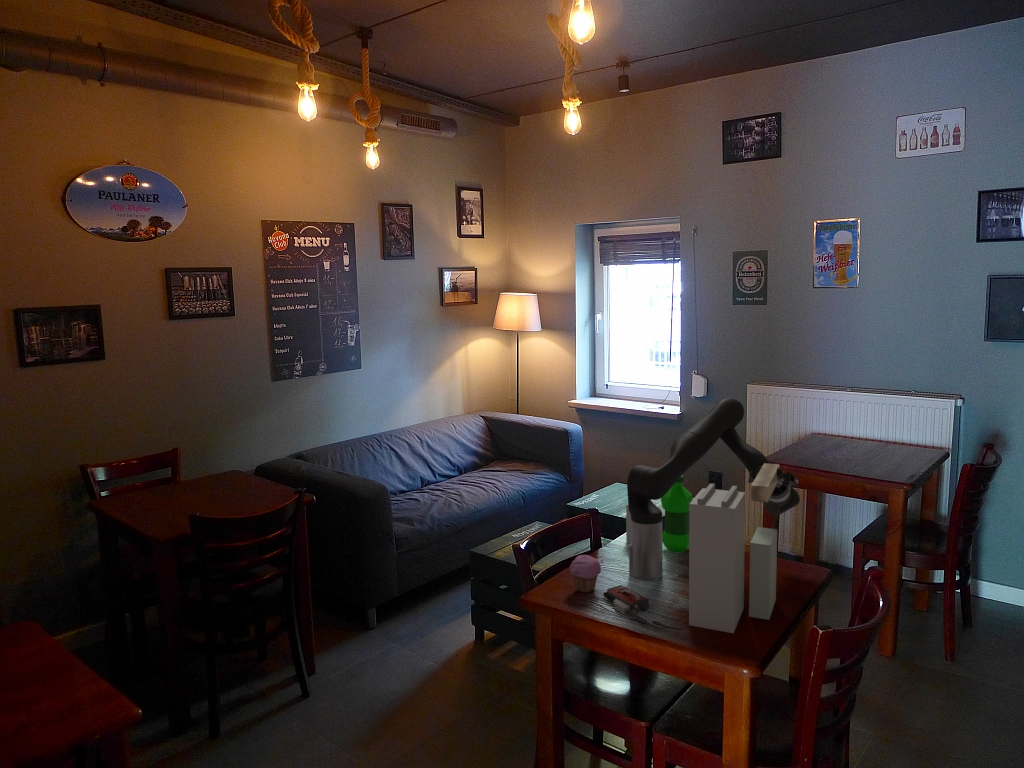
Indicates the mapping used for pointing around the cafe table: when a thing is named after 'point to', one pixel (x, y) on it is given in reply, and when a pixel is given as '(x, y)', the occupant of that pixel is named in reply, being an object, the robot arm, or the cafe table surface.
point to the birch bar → (764, 483)
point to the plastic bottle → (676, 517)
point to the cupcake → (585, 572)
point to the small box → (628, 525)
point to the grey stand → (716, 558)
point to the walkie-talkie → (627, 601)
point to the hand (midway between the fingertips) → (769, 470)
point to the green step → (762, 573)
